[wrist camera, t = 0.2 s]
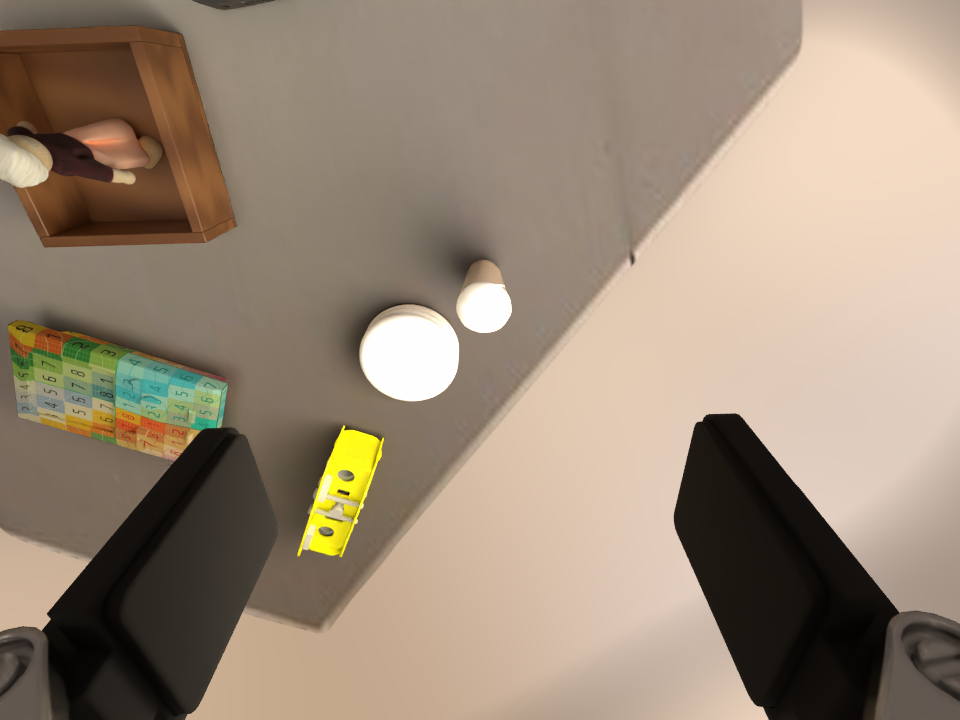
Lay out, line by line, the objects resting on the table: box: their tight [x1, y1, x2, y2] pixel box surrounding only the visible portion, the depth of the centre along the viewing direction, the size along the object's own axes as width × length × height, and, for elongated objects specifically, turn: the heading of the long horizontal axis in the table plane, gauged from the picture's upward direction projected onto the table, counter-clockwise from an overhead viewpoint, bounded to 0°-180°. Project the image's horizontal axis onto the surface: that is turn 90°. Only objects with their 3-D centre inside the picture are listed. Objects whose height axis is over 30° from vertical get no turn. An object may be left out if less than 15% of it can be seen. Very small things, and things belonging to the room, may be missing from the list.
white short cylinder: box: [359, 304, 459, 401], centre depth 48 cm, size 10×10×4 cm
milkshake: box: [456, 259, 511, 333], centre depth 41 cm, size 5×5×10 cm
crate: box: [0, 25, 237, 247], centre depth 38 cm, size 15×14×6 cm
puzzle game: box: [8, 320, 228, 461], centre depth 50 cm, size 12×5×20 cm
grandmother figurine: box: [0, 118, 163, 188], centre depth 34 cm, size 8×4×13 cm, turn 73°
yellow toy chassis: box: [297, 425, 384, 557], centre depth 55 cm, size 16×6×8 cm, turn 158°
